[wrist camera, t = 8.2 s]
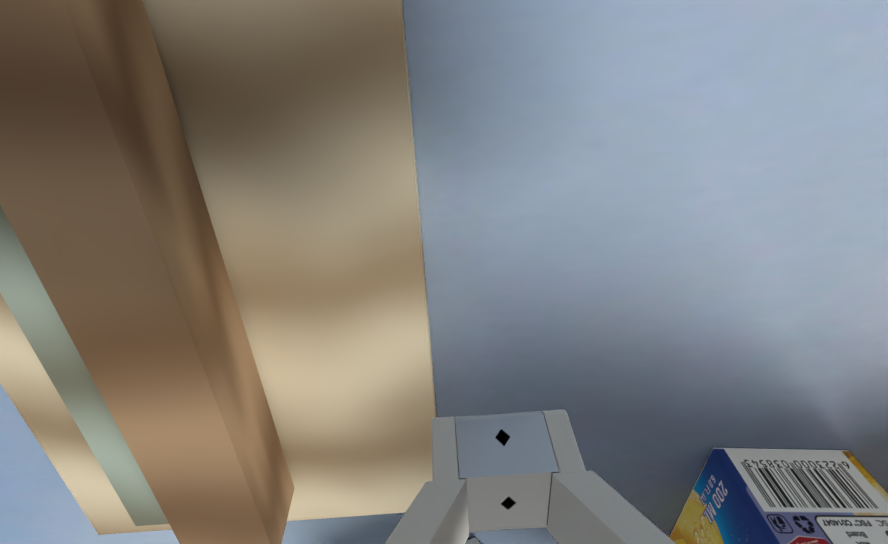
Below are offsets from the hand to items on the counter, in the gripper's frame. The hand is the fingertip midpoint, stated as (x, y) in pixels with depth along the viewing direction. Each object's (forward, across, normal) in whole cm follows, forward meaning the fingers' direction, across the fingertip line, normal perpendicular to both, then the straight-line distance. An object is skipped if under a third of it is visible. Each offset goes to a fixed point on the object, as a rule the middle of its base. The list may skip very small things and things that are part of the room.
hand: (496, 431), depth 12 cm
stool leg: (+6, +9, -2) cm, 11 cm away
